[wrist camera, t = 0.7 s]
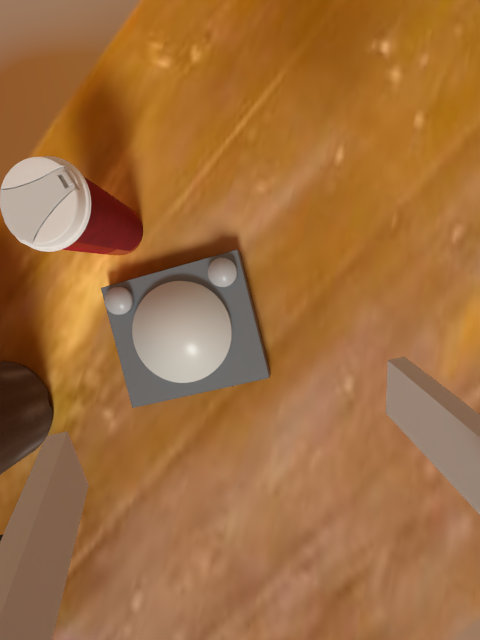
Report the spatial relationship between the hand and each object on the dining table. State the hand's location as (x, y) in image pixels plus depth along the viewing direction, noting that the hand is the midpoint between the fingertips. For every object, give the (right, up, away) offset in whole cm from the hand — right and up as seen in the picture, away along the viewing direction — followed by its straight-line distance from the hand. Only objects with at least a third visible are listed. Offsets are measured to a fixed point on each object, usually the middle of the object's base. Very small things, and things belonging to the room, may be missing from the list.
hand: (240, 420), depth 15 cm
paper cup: (-14, +14, +28) cm, 34 cm away
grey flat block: (-6, +3, +27) cm, 28 cm away
